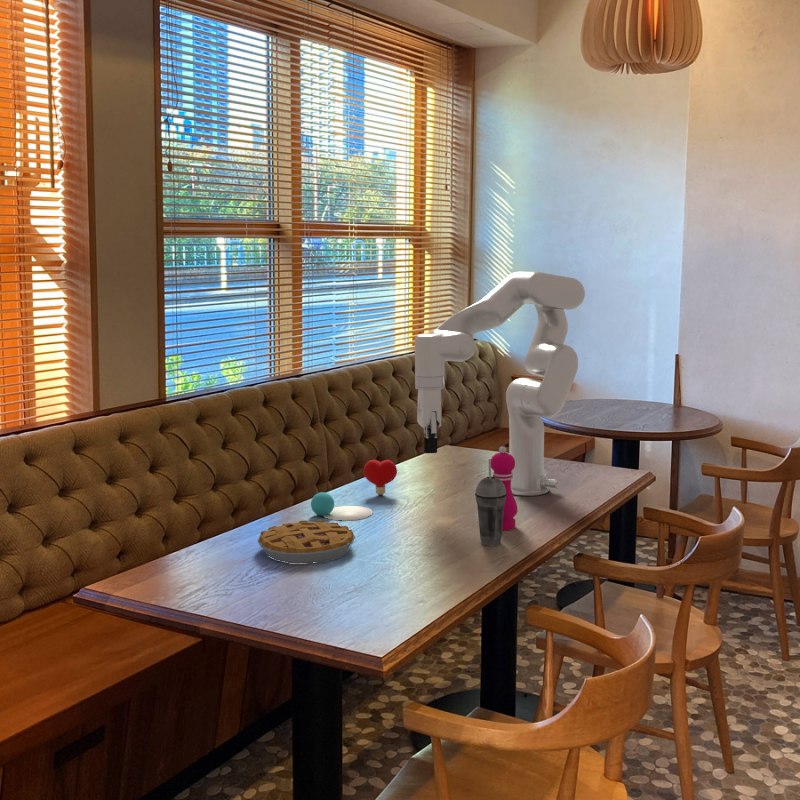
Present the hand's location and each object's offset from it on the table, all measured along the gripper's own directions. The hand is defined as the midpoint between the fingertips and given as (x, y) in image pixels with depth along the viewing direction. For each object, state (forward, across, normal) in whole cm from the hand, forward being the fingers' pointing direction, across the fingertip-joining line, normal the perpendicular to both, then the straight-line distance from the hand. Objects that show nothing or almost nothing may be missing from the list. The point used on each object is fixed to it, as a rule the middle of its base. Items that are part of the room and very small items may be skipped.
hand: (430, 452), depth 240 cm
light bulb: (+15, -16, -11) cm, 25 cm away
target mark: (+15, 0, -22) cm, 27 cm away
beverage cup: (+15, +31, +8) cm, 35 cm away
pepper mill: (+15, +19, +14) cm, 28 cm away
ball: (+12, 0, -28) cm, 31 cm away
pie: (+16, +28, -34) cm, 47 cm away
